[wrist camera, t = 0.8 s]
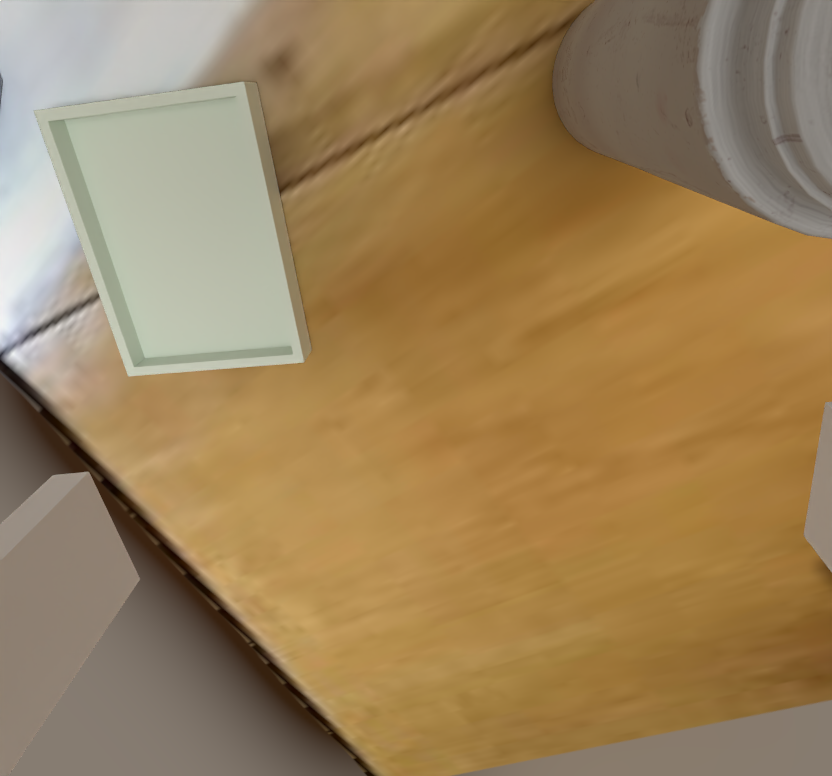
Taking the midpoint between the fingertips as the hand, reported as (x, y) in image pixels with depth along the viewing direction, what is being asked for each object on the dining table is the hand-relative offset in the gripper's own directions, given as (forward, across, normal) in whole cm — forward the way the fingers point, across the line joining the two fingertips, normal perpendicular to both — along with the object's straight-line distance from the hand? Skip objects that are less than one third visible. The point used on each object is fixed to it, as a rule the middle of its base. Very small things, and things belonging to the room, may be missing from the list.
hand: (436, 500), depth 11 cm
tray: (+27, -16, +1) cm, 32 cm away
